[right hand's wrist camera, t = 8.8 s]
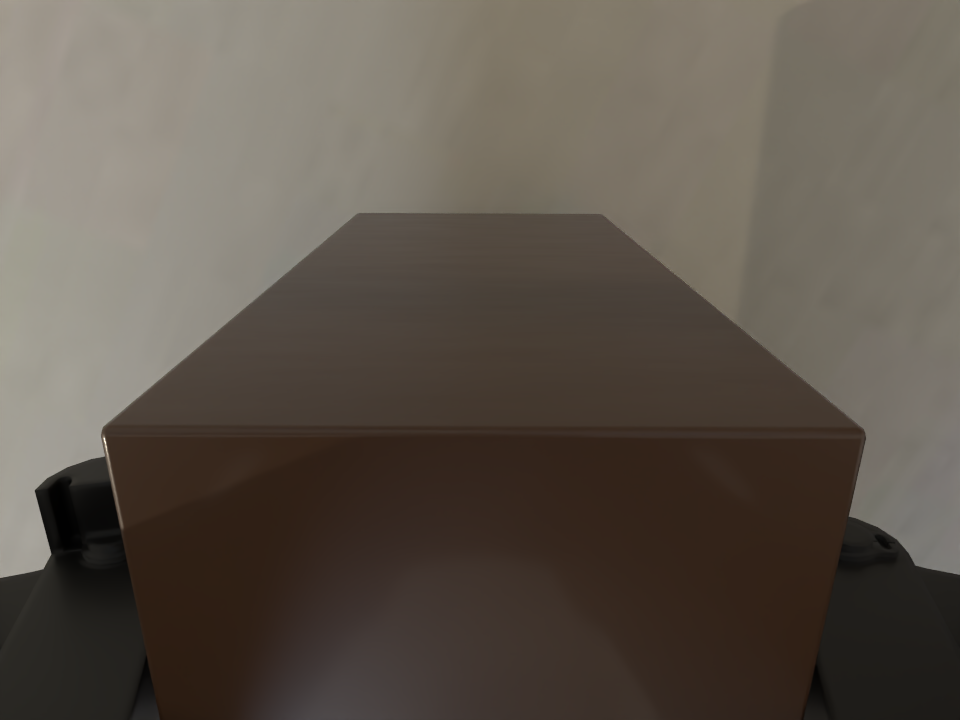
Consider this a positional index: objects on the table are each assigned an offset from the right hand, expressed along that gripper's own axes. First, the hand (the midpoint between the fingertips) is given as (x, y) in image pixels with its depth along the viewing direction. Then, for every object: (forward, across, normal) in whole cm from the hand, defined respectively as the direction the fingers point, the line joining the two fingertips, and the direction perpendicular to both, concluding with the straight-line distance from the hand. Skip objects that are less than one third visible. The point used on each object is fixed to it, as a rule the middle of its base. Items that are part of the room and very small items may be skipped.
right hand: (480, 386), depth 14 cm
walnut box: (+1, 0, -12) cm, 13 cm away
